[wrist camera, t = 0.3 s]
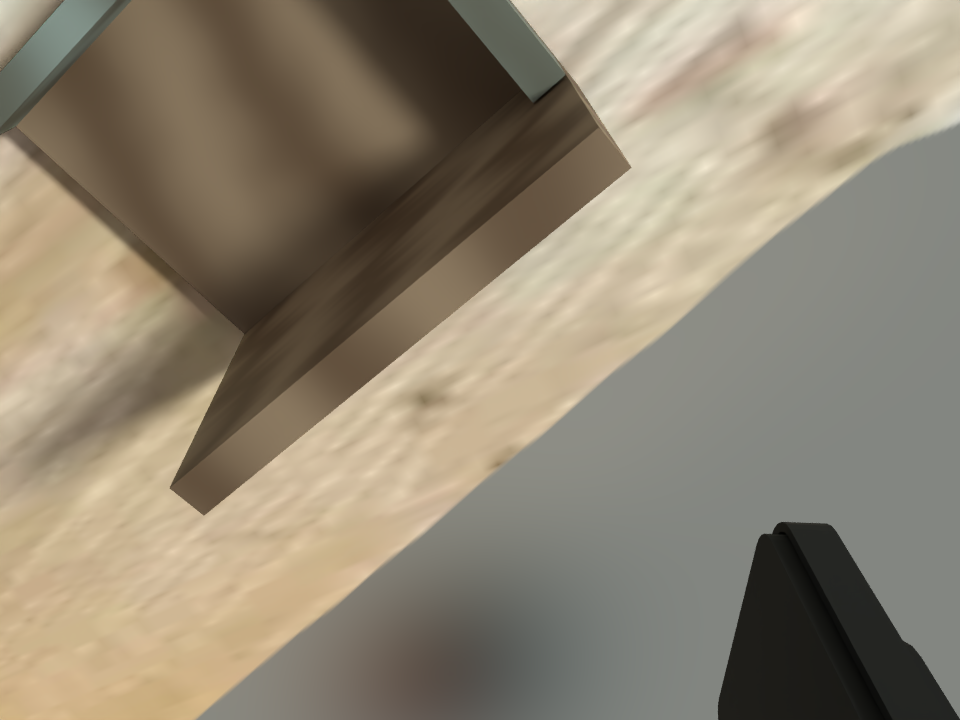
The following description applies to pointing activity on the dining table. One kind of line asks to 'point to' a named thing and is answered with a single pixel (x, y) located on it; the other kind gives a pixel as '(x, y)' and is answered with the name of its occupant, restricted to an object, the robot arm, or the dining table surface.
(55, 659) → the dining table surface
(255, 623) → the dining table surface
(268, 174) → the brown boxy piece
